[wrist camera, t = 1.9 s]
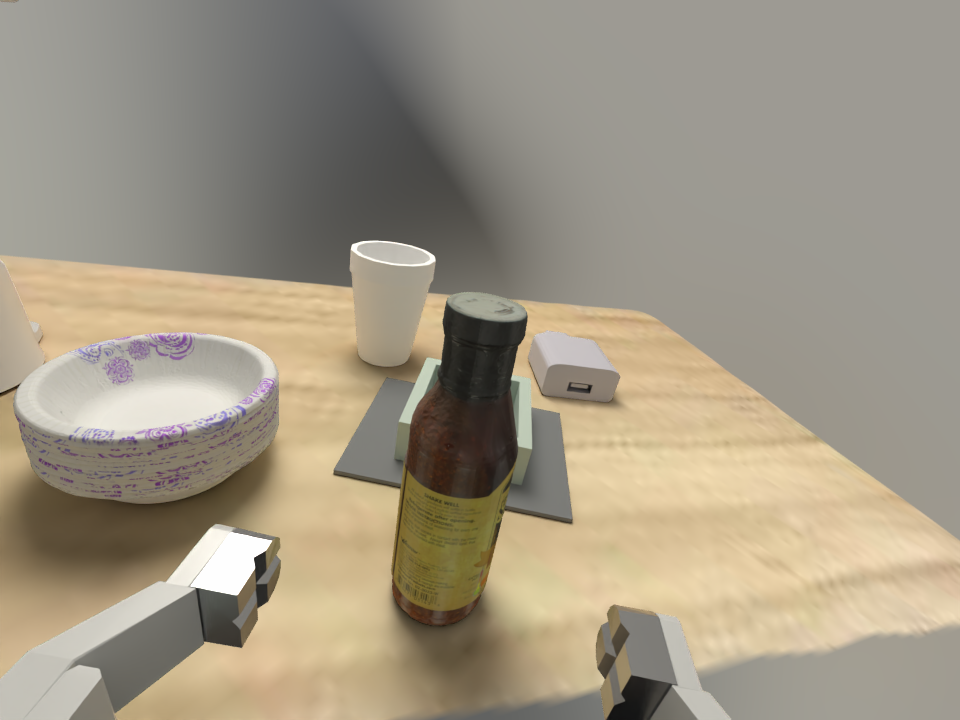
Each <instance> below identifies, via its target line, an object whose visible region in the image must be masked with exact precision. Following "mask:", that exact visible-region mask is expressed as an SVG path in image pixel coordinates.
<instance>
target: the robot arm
mask: <svg viewBox="0 0 960 720" xmlns="http://www.w3.org/2000/svg"><path fill="white" fill-rule="evenodd" d="M17 1H19V0H0V2H17ZM42 335H43V332H42V330H41V328H40V325H39V324H38V323H36V322H31V321H29V318H28V316H27V314H26V311H25V309H24V307H23V304H22V302H21V300H20V297H19V295H18V293H17V290H16V288H15V286H14V284H13V281H12V279H11V277H10V275H9V272H8V270H7V268H6V266H5V264H4V263H3V262H2V261H1V260H0V393H1V392H3V391H6V390H8V389H10V388H12V387H14V386H16V385H18V384H20V383H22V382H23V380H24V379H25V378H26V377H27V376H28V375H29V374H31V373H32V372H33V371H34V370H36V369H37V368H39V367H40V366H42V365H43V364H44V361H45V354H44V351H43V350H42V348H41V347H40V345H39V343H38V342H39V341H40V339H41V337H42ZM279 549H280V538H278V537H274V536H270V535H265V534H261V533H257V532H252V531H248V530H244V529H239V528H235V527H230V526H225V525H221V524H215V525H214V526H212V527H211V528H209V529H208V531H207V532H206V533H205V534H204V535H203V537H202V538H201V539H200V540H199V542H198V543H197V544H196V545H195V546H194V548H193V549H192V550H191V551H190V553H189V554H188V555H187V556H186V557H185V559H184V560H183V561H182V562H181V564H180V565H179V566H178V567H177V569H176V570H175V571H174V572H173V573H172V575H171V576H170V577H169V578H168V580H167V581H166V582H162V581H158V582H156V583H154V584H152V585H151V586H149V587H147V588H145V589H143V590H141V591H139V592H137V593H136V594H134V595H132V596H130V597H128V598H126V599H124V600H123V601H121V602H119V603H117V604H115V605H113V606H111V607H109V608H108V609H106V610H104V611H102V612H100V613H98V614H96V615H95V616H93V617H91V618H89V619H87V620H85V621H83V622H81V623H80V624H78V625H76V626H74V627H72V628H70V629H68V630H67V631H65V632H63V633H61V634H59V635H57V636H55V637H53V638H52V639H50V640H48V641H46V642H44V643H42V644H40V645H39V646H37V647H35V648H33V649H31V650H29V651H27V652H26V653H25V654H24V655H23V656H22V657H21V658H20V659H19V660H18V661H17V662H16V663H15V664H14V666H13V667H12V668H11V669H10V670H9V671H8V672H7V673H6V674H5V675H4V676H3V677H2V678H1V679H0V720H117V718H116V715H115V713H116V712H117V711H119V710H120V709H121V708H123V707H124V706H125V705H126V704H128V703H129V702H130V701H132V700H133V699H134V698H135V697H137V696H138V695H139V694H141V693H142V692H143V691H144V690H146V689H147V688H148V687H150V686H151V685H152V684H153V683H155V682H156V681H157V680H159V679H160V678H161V677H162V676H164V675H165V674H166V673H167V672H169V671H170V670H171V669H173V668H174V667H175V666H176V665H178V664H179V663H180V662H182V661H183V660H184V659H185V658H187V657H188V656H189V655H191V654H192V653H193V652H194V651H196V650H197V649H198V648H200V647H201V646H202V645H203V644H204V642H210V643H216V644H222V645H228V646H234V647H240V648H242V647H243V645H244V643H245V642H246V640H247V638H248V636H249V635H250V633H251V631H252V629H253V627H254V626H255V624H256V622H257V620H258V612H257V608H259V607H261V606H262V605H264V604H265V603H267V602H268V601H269V599H270V597H271V595H272V593H273V591H274V589H275V586H276V584H277V581H278V578H279V574H280V568H281V560H280V559H279V558H278V557H277V555H276V554H277V552H278V550H279ZM607 616H608V622H607V623H605V624H603V625H601V628H600V630H599V633H598V636H597V642H596V660H597V668H598V670H599V671H600V673H601V674H602V676H603V677H604V679H605V681H604V683H603V685H602V687H601V689H600V690H601V697H602V704H603V711H604V718H605V720H732V719H731V718H730V717H729V716H728V715H727V713H726V712H725V711H724V710H723V709H722V707H721V706H720V705H719V704H718V703H717V701H716V700H715V699H714V698H713V697H712V695H711V694H710V693H709V692H705V691H703V690H702V687H701V685H700V681H699V678H698V675H697V672H696V669H695V666H694V663H693V660H692V657H691V654H690V651H689V648H688V645H687V642H686V639H685V636H684V633H683V630H682V627H681V624H680V621H679V620H678V619H677V617H674V616H669V615H664V614H658V613H654V612H651V611H646V610H640V609H635V608H630V607H624V606H619V605H613V606H611V607H610V609H609V611H608V613H607Z"/></svg>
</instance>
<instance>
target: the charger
mask: <svg viewBox="0 0 960 720" xmlns="http://www.w3.org/2000/svg"><path fill="white" fill-rule="evenodd" d="M528 360H529V362H530V365H531V367H532V370H533V372H534V375H535V377H536V380H537V382H538V385H539V387H540V390H541V392H542V393H543V394H544V395H545V396H554V397H563V398H572V399H581V400H590V401H599V402H609V401H611V399H612V398H613V395H614V392H615V390H616V387H617V385H618V382H619V379H620V375H619V373H618V372H617V371H616V369H615V368H614V367H613V365H612V364H611V363H610V361H609V360H608V358H607V357H606V356H605V354H604V353H603V352H602V350H601V349H600V347H599V346H598V345H597V343H596V342H594V341H593V340H590V339H584V338H577V337H570V336H568V335H567V334H566V333H560V332H553V331H545V333H540V334H536V335H535V336H534V337H533V341H532V344H531V348H530V352H529V355H528Z"/></svg>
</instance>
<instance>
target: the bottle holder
mask: <svg viewBox="0 0 960 720" xmlns="http://www.w3.org/2000/svg"><path fill="white" fill-rule="evenodd" d="M440 365H441V360H438V359H433V358H429V357H427V359H426V361H425V363H424V366H423V368H422V370H421V372H420V375H419V377H418V379H417V381H416V384H415V386H414V388H413V390H412V393H411V395H410V397H409V399H408V402H407V404H406V406H405V408H404V411H403V413H402V415H401V417H400V420H399V422H398V430H397V438H396V446H395V454H394V459H397V460H402V461H404V458H405V454H406V451H407V449H408V441H409V433H410V424H411V420H412V415H413V413H414V411H415V408H416V406H417V405H418V403H419V401H420V400H421V399H422V398H423V396H424V395H426V394H427V393H428V392H429V390H431V389H432V388H433V386H434V385H435V383H436V382H437V380H438V376H437V372H438V369H439V366H440ZM511 381H512V384H511V387H510V388H511V395H512V402H513V410H514V418H515V426H516V434H517V441H518V455H517V460H516V464H515V469H514V472H513V477H512V481H511V483H513V484H518V485H522V482H523V478H524V475H525V472H526V468H527V465H528V461H529V458H530V455H531V451H532V420H531V379H530V378H525V377H520V376H515V375H512V377H511Z"/></svg>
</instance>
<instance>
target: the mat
mask: <svg viewBox="0 0 960 720" xmlns="http://www.w3.org/2000/svg"><path fill="white" fill-rule="evenodd" d="M415 384H416V383H411V382H407V381H402V380H397V379H392V378H386V380H385V381H384V383H383V385H382V387H381V388H380V390H379V392H378V394H377V395H376V397H375V399H374V401H373V402H372V404H371V406H370V408H369V409H368V411H367V413H366V415H365V416H364V418H363V420H362V421H361V423H360V425H359V427H358V428H357V430H356V432H355V434H354V435H353V437H352V439H351V441H350V442H349V444H348V446H347V448H346V449H345V451H344V453H343V455H342V456H341V458H340V460H339V461H338V463H337V465H336V467H335V468H334V474H338V475H343V476H348V477H353V478H357V479H362V480H367V481H372V482H377V483H382V484H386V485H391V486H396V487H401V482H402V474H403V466H404V461H402V460H397V459H394V454H395V446H396V438H397V430H398V422H399V420H400V417H401V415H402V413H403V411H404V408H405V406H406V404H407V402H408V399H409V397H410V395H411V393H412V390H413V388H414V386H415ZM531 420H532V451H531V455H530V458H529V461H528V465H527V468H526V472H525V475H524V478H523V482H522V485H518V484H513V483H511V484H510V489H509V492H508V497H507V502H506V505H505V509H507V510H512V511H517V512H522V513H526V514H531V515H536V516H541V517H546V518H551V519H555V520H560V521H565V522H570V523H571V522H572V512H571V504H570V495H569V487H568V479H567V471H566V463H565V454H564V446H563V438H562V430H561V422H560V413H556V412H551V411H546V410H541V409H537V408H532V407H531Z"/></svg>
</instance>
